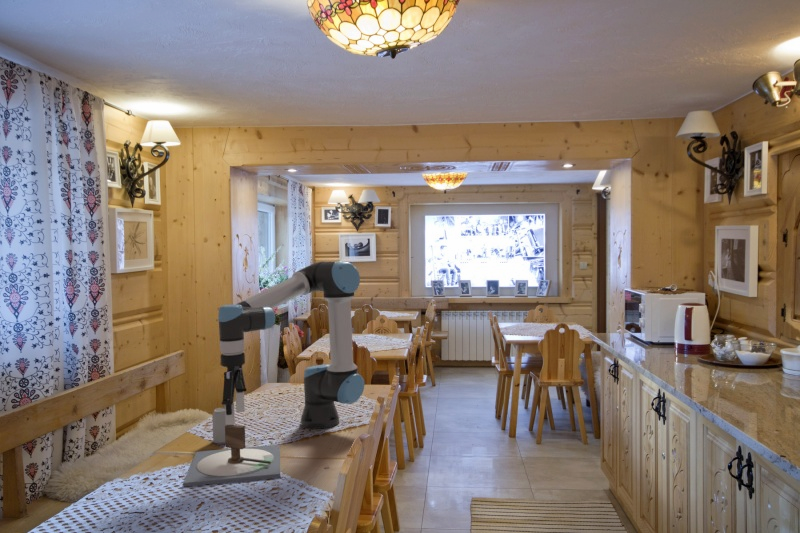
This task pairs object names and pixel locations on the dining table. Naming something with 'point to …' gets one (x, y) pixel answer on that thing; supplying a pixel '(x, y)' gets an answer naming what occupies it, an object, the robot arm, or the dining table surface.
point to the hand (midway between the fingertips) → (235, 417)
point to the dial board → (233, 466)
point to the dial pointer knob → (237, 444)
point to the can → (219, 425)
